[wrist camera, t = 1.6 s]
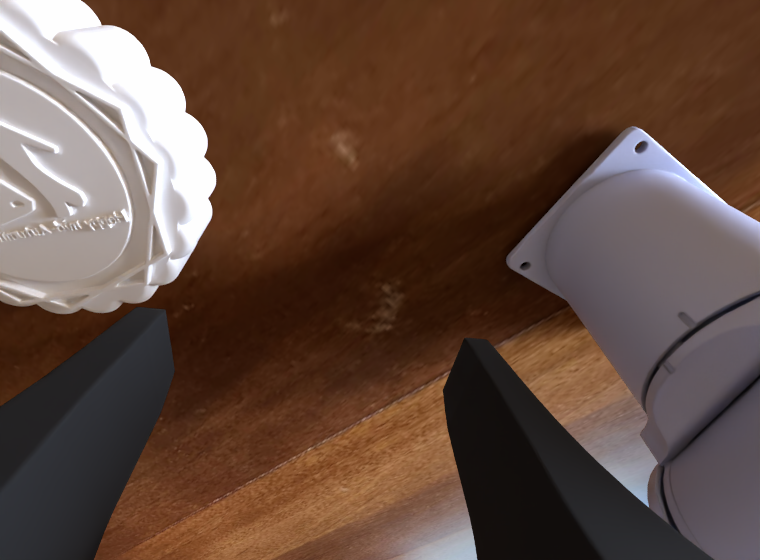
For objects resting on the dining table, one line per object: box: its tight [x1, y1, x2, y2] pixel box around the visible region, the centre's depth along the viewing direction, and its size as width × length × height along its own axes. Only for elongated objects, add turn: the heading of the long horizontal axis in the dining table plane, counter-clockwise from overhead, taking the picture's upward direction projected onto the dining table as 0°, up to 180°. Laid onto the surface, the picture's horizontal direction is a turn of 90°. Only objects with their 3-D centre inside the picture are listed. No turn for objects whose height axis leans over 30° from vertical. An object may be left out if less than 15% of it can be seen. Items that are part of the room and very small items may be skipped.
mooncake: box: [0, 0, 216, 314], centre depth 15 cm, size 12×12×4 cm
